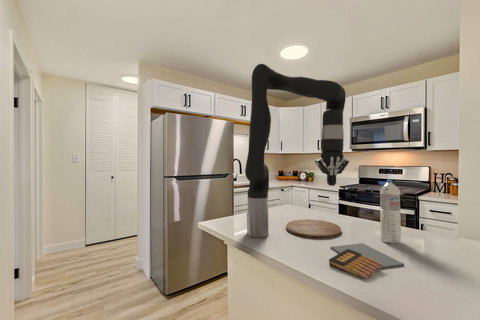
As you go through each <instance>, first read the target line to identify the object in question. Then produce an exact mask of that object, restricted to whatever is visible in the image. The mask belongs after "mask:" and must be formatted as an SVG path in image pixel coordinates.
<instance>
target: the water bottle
mask: <svg viewBox="0 0 480 320" xmlns="http://www.w3.org/2000/svg"><path fill="white" fill-rule="evenodd" d="M379 193H380V194H379V195H380V198H379V199H380V200H379V201H380V203H379V204H380V205H379V206H380V210H379V211H380V214H379V215H380V216H379V217H380V219H379V220H380V240H381V241H382V242H383V243H385V244H390V245H399V244H400V243H401V240H402V239H401V238H402V231H401V230H402V229H401V227H402V226H401V225H402V224H401V223H402V222H401V196H400V195H401V190H400V188H399V187H398V186H396V184H394V183H393V179H386V183H385V184H384V185H382V186H381V187H380V188H379Z"/></svg>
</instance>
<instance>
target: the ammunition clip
mask: <svg viewBox="0 0 480 320" xmlns="http://www.w3.org/2000/svg"><path fill="white" fill-rule="evenodd" d="M328 260H329V261H328V262H329V264H328V265H329V266H331V267H333V268H336V269H338V270H341V271H342V272H347V273H350V274H352V275H355V276H358V277H361V278H364V279H369V278H370V277H369V276H372V274H376V272H378V271H379V270H382V269H381V267H379V266H382V267H383V266H384V265H383V264H381V263H379V262H377V261H375V260H372V259H371V258H368V257H366V256H363V255H362V254H360V253H358V252H355V251H353V250H350V249H347V250H345V251H343V252H341V253H337V254H336V255H334V256H332V257H331V258H329V259H328ZM376 268H377V269H376Z"/></svg>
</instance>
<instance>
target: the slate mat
mask: <svg viewBox="0 0 480 320" xmlns="http://www.w3.org/2000/svg"><path fill="white" fill-rule="evenodd" d="M347 249H350V250H353V251H355V252H358V253H360V254H362V255H363V256H366V257H368V258H371V259H372V260H375V261H377V262H379V263H381V264H383V265H384V266H383V267H382V266H379V267H381V269H380V270H383V269H390V268H397V267H404V266H405V263H403V262H401V261H399V260H397V259H396V258H394V257H391V256H390V255H387V254H385V253H384V252H382V251H379V250H377V249H375V248H373V247H371V246H369V245H367V244H365V243H364V242H361V243H360V242H359V243H351V244H342V245H334V246H330V250H332V251H335V253H337V254H339V253H341V252H343V251H345V250H347ZM376 269H377V268H376ZM377 270H378V269H377Z"/></svg>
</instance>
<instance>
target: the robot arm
mask: <svg viewBox="0 0 480 320" xmlns="http://www.w3.org/2000/svg"><path fill="white" fill-rule="evenodd" d="M268 90H271V91H272V90H273V91H274V90H275V91H282V92H289V93H291V94H295V95H298V96H302V97H304V98H305V97H306V98H309V99H310V98H311V99H318V100H322V101H324V102H326V104H325V105H326V106H325V110H324V111H323V113H322V123H321V124H322V127H321V140H320V141H321V143H320V144H321V145H320V146H321V150H320V151H321V154H320V157H319V158H318V159H315V160H314V163H315V164H316V166H317V167H318V169H319V170H320V172H321V173H322V174H325V175H326V183H327V185H328V186H331V187H334V186H335V185H336V184H337V175H341V174H342V173H343V171H344V170H345V168H346V167H347V166H348V165H349V163H350V160H348V159H346V158H344V154H343V151H344V137H345V136H344V110H345V104H346V95H347V94H346V90H345V88H344V87H343V86H342V85H341V84H339V83H338V82H336V81H333V80H326V79H325V80H324V79H316V78H311V77H307V76H306V77H305V76H299V75H297V76H296V75H295V76H290V75H289V76H288V75H285V74H282V73H280V72H278V71H276V70H274V69H273V68H272V67H270V66H268V65H267V64H264V63H258V64H257V65H256V66H255V67H254V69H253V71H252V74H251V108H250V109H251V110H250V121H249V132H248V133H249V135H248V151H247V158H246V163H245V168H244V174H245V177H246V179H247V180H248V181H249V186H248V189H247V213H246V231H247V232H246V233H247V235H248V236H249V237H250V238H256V239H257V238H258V239H260V238H266V237H268V236H269V235H270V234H269V231H270V230H269V189H270V172H269V167H268V165H267V164H266V163H265V152H266V147H267V144H268V141H269V138H270V133H271V126H272V124H271V123H272V115H271V109H270V106H269V104H268V97H267V95H268V93H267V92H268Z"/></svg>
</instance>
